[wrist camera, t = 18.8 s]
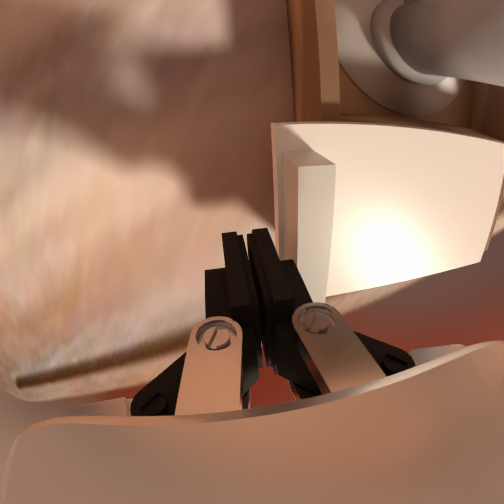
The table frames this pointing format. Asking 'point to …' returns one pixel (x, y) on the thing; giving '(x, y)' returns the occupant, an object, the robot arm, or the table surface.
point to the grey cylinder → (441, 39)
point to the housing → (376, 79)
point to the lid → (380, 201)
